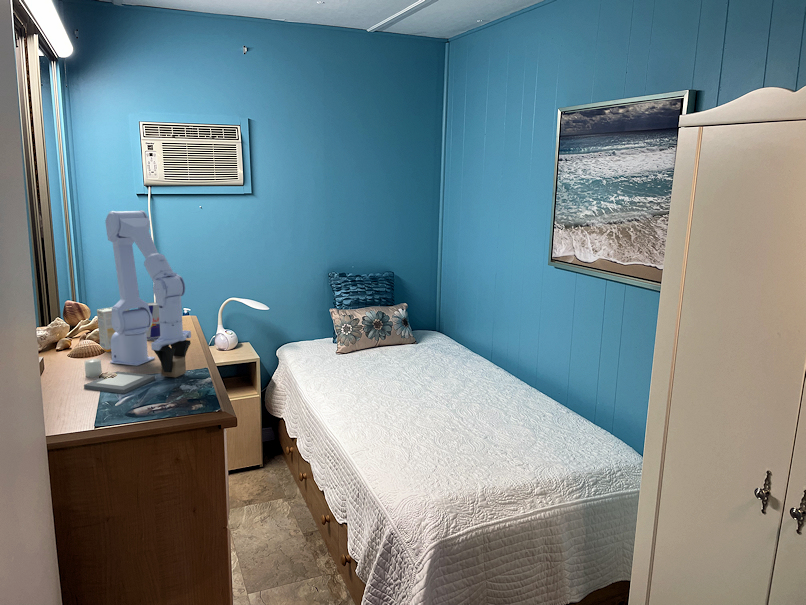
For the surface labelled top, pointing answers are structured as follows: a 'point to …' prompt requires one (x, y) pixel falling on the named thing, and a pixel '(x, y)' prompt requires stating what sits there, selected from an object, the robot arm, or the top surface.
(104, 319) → the supplement box
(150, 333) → the energy drink
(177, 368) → the walnut block
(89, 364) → the white capsule cylinder
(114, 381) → the mat
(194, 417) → the top surface
